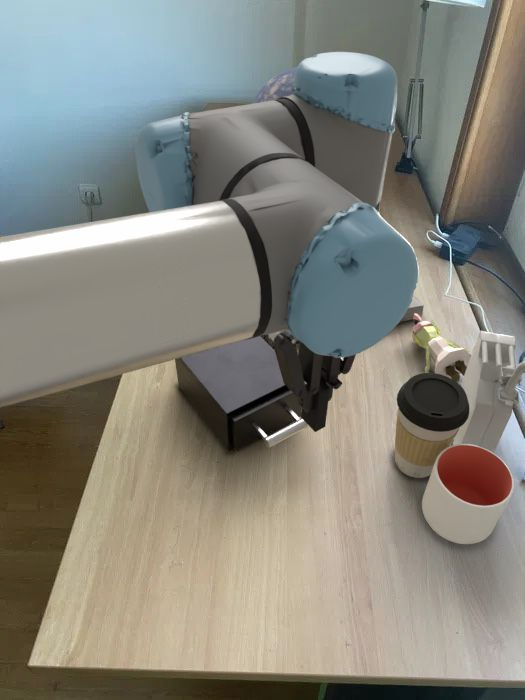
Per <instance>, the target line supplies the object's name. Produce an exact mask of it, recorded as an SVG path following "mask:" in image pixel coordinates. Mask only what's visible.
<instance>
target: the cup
mask: <svg viewBox="0 0 525 700" xmlns="http://www.w3.org/2000/svg"><path fill="white" fill-rule="evenodd" d="M514 491H515V480H514V475H513V473H512V471H511V469H510V468H509V466H508V465H507V464H506V462H505V461H504V460H503V459H502V458H501V457H500V456H498V455H497V454H496V453H495V452H494V453H493V452H491V451H489V450H487V449H485V448H482V447H479V446H476V445H471V444H457V445H453V444H452V445H450V446H449V447H448V448H446V449H444V450H443V451H442V452H441V453H440V454H439V455H438V457H437V459H436V461H435V464H434V467H433V470H432V472H431V475H429V479H428V482H427V485H426V487H425V490H424V493H423V495H422V499H421V510H422V514H423V518H424V519H425V521H426V522H427V524H428V525H429V527H430V528H431V529H432V530H433V531H434V533H436V534H437V535H438V536H440V537H441V538H443V539H445V540H447V541H449V542H452V543H454V544H458V545H474V544H478V543H480V542H482V541H484V540H486V539H487V538H489V536H490V535H491V534H492V533H493V531H494V530H495V528H496V526H497V524H498V522H499V520H500V518H501V516H502V514H503V513H504V511H505V510H506V507H507V505H508V504H509V501H510V499H511V498H512V496H513V493H514Z"/></svg>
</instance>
